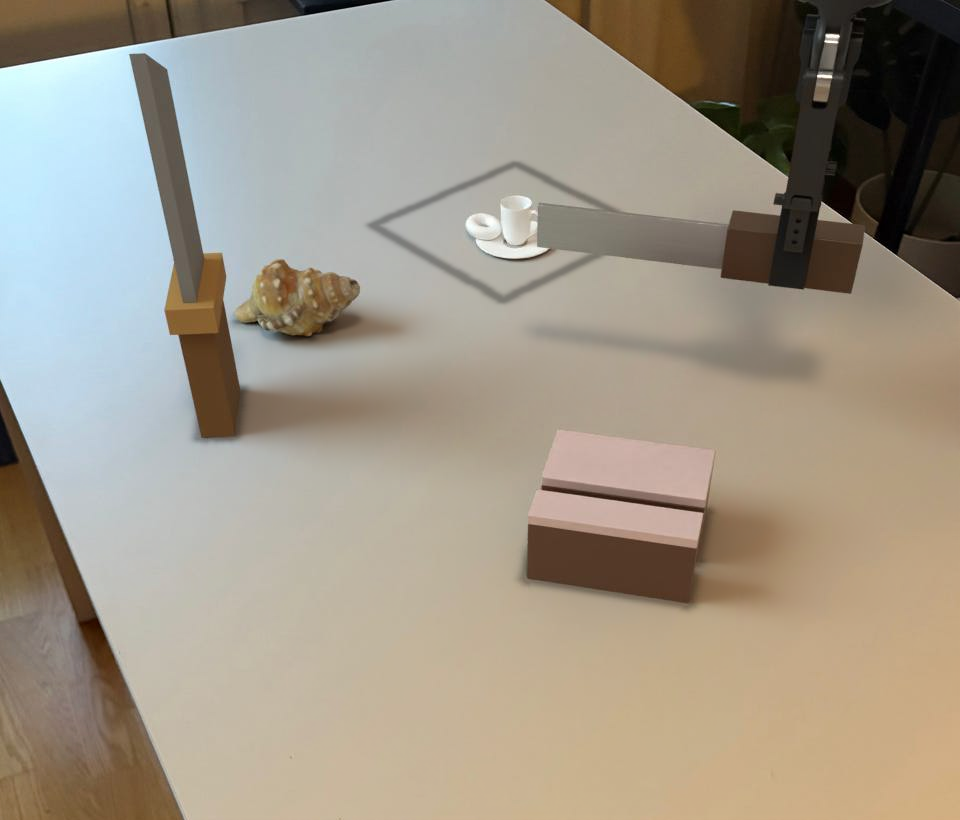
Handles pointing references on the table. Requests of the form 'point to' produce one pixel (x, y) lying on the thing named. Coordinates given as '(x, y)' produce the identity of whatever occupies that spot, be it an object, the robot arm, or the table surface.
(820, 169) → the robot arm
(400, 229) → the table surface
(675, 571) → the cake slice
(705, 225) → the cake knife
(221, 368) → the knife
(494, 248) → the teacup and saucer
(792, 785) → the table surface
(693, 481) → the cake
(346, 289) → the seashell
